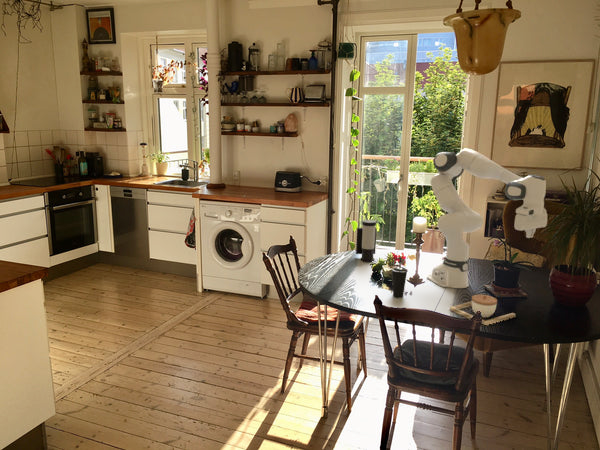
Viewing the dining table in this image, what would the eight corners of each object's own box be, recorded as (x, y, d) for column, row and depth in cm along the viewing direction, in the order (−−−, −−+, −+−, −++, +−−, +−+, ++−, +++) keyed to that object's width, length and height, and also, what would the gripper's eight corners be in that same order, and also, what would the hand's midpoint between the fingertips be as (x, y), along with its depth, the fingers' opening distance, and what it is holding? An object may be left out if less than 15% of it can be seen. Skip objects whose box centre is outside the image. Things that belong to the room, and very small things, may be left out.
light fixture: (358, 262, 296) (360, 222, 291) (355, 257, 307) (357, 218, 301) (378, 262, 297) (380, 222, 292) (374, 257, 308) (376, 218, 302)
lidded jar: (467, 316, 220) (469, 296, 218) (473, 308, 229) (475, 289, 227) (492, 321, 214) (494, 301, 212) (497, 313, 223) (499, 294, 221)
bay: (449, 309, 226) (449, 306, 226) (478, 302, 236) (479, 299, 236) (485, 326, 210) (485, 322, 209) (515, 317, 220) (515, 313, 219)
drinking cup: (387, 294, 245) (389, 255, 240) (400, 292, 247) (403, 254, 243) (395, 299, 238) (397, 260, 233) (408, 297, 240) (411, 258, 236)
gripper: (540, 206, 241) (536, 233, 244) (513, 209, 231) (510, 238, 234) (552, 208, 236) (548, 236, 239) (525, 212, 226) (521, 241, 229)
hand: (529, 237), depth 236 cm, fingers closed
